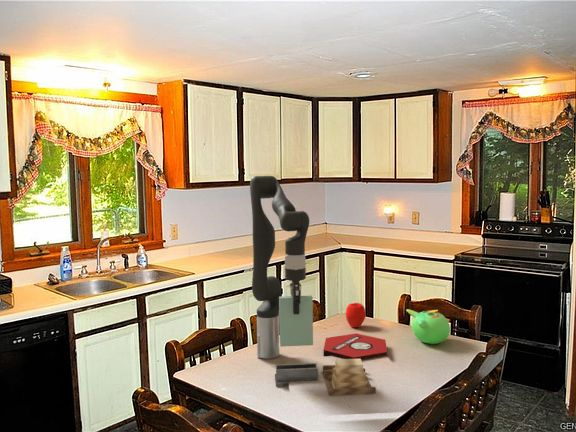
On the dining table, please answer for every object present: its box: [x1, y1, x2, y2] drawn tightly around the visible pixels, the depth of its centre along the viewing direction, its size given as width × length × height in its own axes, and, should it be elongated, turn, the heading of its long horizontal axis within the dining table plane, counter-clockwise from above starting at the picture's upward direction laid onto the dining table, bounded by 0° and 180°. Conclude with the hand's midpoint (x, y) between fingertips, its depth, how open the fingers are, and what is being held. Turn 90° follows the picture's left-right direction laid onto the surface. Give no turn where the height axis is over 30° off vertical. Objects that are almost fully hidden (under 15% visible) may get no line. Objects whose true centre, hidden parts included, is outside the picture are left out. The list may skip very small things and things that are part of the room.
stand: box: [274, 362, 321, 387], centre depth 196 cm, size 16×8×6 cm, turn 94°
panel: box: [279, 295, 314, 348], centre depth 194 cm, size 12×2×18 cm, turn 94°
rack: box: [320, 364, 377, 397], centre depth 191 cm, size 16×21×4 cm
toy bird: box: [405, 308, 451, 345], centre depth 235 cm, size 18×17×15 cm
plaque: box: [323, 332, 388, 361], centre depth 226 cm, size 27×4×30 cm
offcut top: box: [334, 358, 364, 374], centre depth 186 cm, size 9×6×3 cm, turn 90°
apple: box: [345, 302, 366, 328], centre depth 259 cm, size 10×10×12 cm
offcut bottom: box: [332, 375, 367, 389], centre depth 186 cm, size 11×8×3 cm
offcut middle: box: [333, 368, 367, 384], centre depth 186 cm, size 10×7×3 cm
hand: (296, 312), depth 194 cm, fingers closed on panel, 2 cm apart
